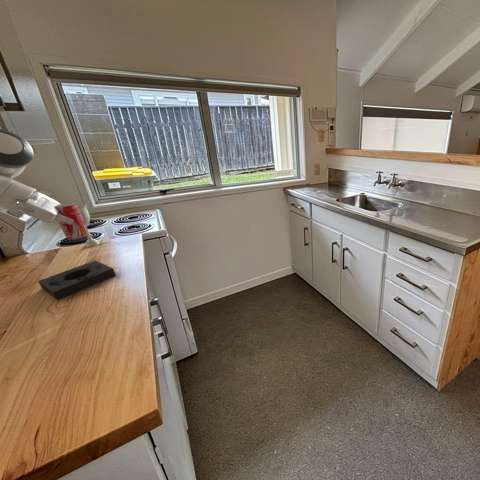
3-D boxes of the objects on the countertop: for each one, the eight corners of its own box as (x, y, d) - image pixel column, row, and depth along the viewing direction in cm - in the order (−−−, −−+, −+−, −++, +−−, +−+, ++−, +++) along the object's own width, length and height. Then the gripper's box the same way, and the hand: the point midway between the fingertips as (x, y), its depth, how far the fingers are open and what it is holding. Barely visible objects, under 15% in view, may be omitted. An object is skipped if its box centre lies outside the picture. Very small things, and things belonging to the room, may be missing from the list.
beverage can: (62, 240, 90) (46, 207, 85) (81, 233, 96) (67, 202, 91) (75, 241, 89) (60, 207, 84) (94, 234, 94) (80, 202, 89)
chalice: (82, 249, 115) (64, 210, 108) (82, 244, 120) (65, 207, 112) (102, 244, 119) (86, 206, 112) (102, 240, 124) (87, 203, 117)
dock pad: (57, 300, 79) (53, 292, 78) (42, 288, 85) (37, 281, 84) (116, 275, 91) (113, 268, 90) (98, 267, 98) (95, 260, 97)
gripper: (19, 194, 73) (78, 218, 83) (30, 185, 88) (79, 207, 98) (4, 212, 73) (65, 235, 82) (18, 201, 87) (69, 221, 97)
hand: (73, 220), depth 90 cm, fingers closed on beverage can, 6 cm apart
